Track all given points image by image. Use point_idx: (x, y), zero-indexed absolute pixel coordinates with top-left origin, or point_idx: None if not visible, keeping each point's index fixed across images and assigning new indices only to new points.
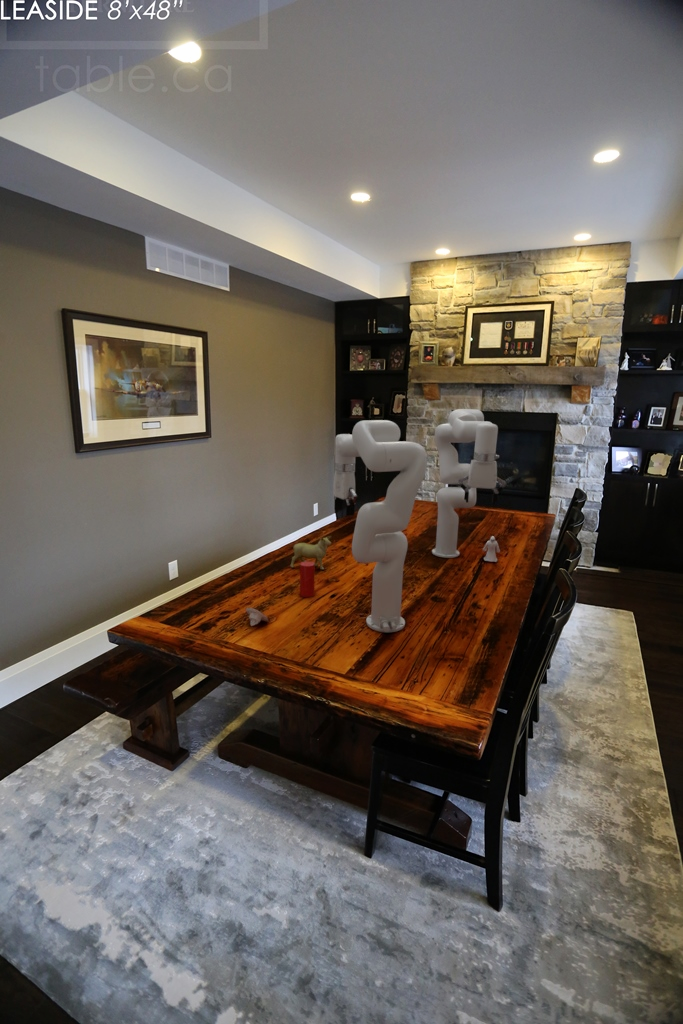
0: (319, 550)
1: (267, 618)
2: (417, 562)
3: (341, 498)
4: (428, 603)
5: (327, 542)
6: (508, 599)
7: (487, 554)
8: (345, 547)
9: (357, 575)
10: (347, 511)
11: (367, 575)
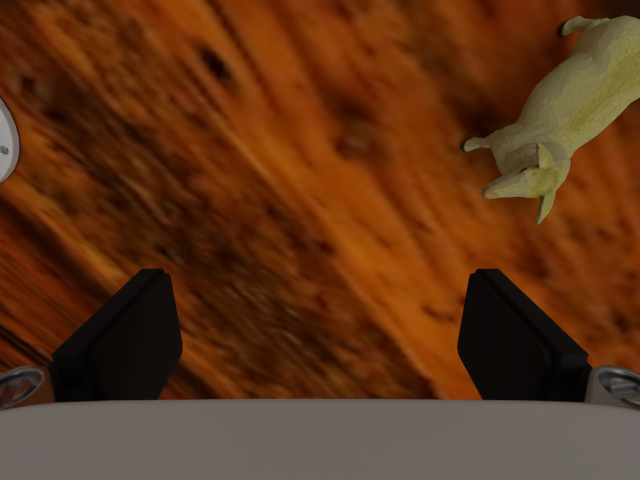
0: (515, 139)
1: None
2: None
3: (65, 402)
4: (83, 313)
5: (502, 180)
6: None
7: None
8: (624, 329)
9: (357, 239)
10: (118, 302)
11: (342, 268)
